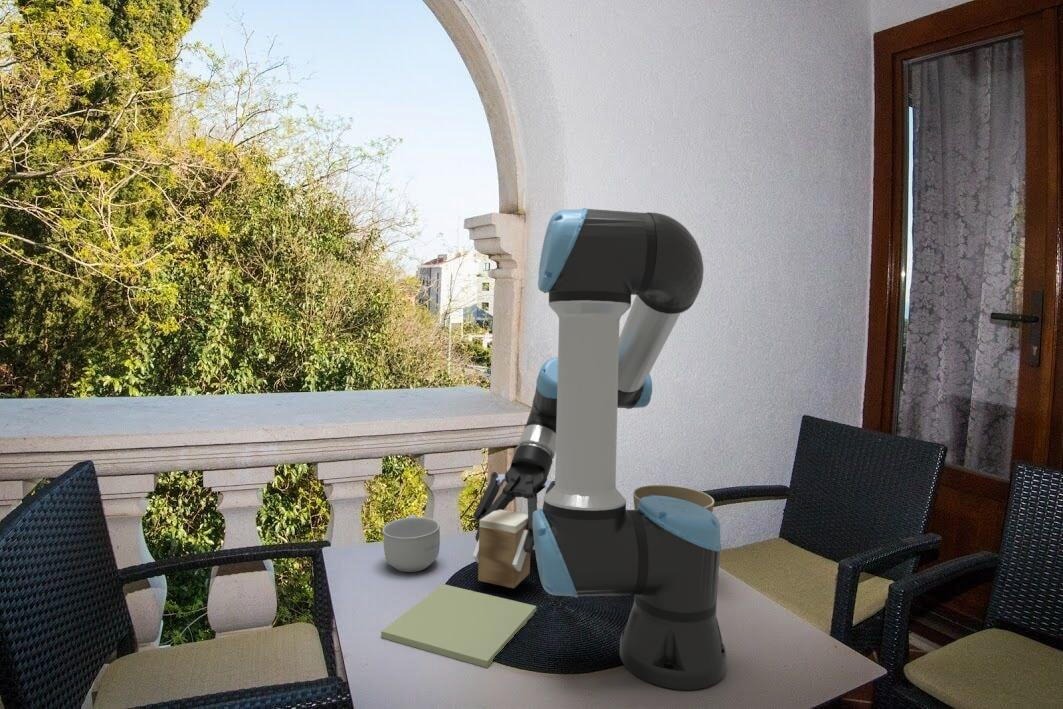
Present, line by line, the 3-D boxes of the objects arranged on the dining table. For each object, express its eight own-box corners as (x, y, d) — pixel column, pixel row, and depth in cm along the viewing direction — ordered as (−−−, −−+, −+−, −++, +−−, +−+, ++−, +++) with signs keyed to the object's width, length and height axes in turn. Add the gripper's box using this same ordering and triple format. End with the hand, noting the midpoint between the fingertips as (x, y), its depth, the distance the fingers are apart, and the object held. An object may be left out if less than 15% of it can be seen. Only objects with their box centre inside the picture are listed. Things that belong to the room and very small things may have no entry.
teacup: (434, 579, 117) (434, 536, 117) (375, 576, 118) (375, 534, 117) (445, 549, 131) (446, 511, 131) (393, 547, 132) (393, 509, 131)
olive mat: (536, 611, 106) (536, 606, 106) (487, 667, 90) (487, 661, 90) (442, 589, 113) (442, 583, 113) (381, 637, 97) (381, 631, 97)
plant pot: (707, 602, 112) (712, 513, 111) (623, 587, 117) (627, 502, 115) (711, 568, 126) (715, 489, 125) (635, 557, 131) (639, 480, 129)
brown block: (529, 573, 117) (531, 514, 116) (513, 588, 111) (515, 526, 110) (495, 566, 120) (497, 508, 119) (478, 580, 114) (479, 520, 113)
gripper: (587, 470, 124) (554, 583, 111) (495, 458, 132) (453, 562, 118) (579, 449, 119) (543, 565, 105) (483, 437, 127) (439, 544, 113)
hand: (496, 563), depth 112 cm, fingers closed on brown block, 7 cm apart
